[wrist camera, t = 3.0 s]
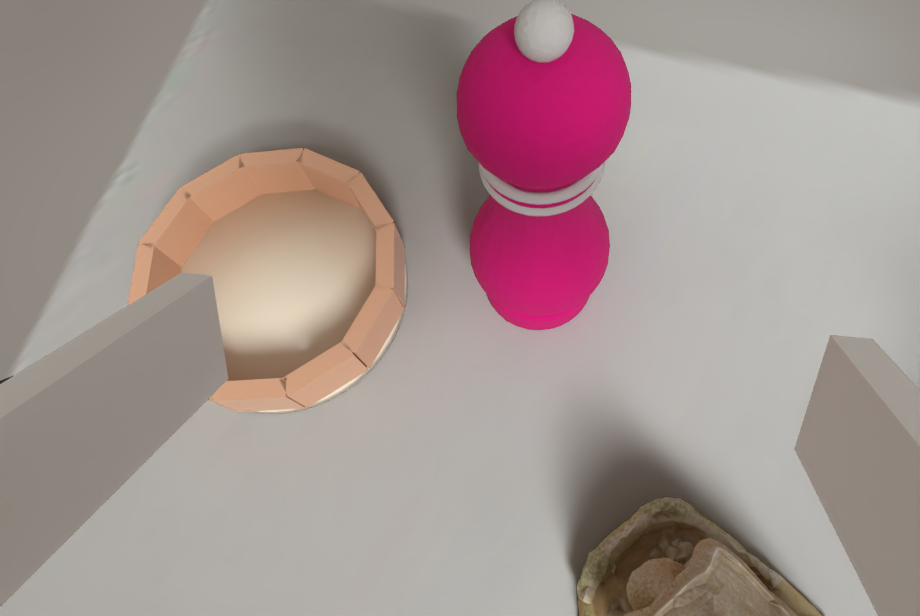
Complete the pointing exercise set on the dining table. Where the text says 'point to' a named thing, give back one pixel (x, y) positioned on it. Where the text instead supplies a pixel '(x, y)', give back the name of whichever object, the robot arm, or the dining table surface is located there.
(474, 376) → the dining table surface
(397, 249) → the terracotta bowl
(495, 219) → the pepper mill
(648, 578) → the ceramic model
